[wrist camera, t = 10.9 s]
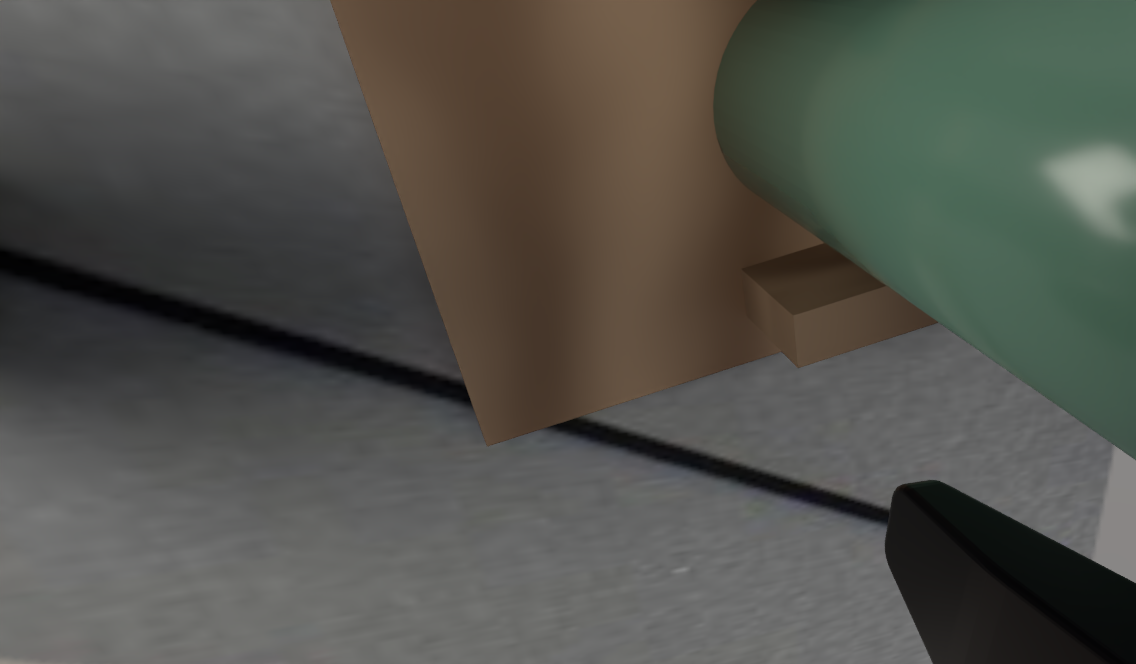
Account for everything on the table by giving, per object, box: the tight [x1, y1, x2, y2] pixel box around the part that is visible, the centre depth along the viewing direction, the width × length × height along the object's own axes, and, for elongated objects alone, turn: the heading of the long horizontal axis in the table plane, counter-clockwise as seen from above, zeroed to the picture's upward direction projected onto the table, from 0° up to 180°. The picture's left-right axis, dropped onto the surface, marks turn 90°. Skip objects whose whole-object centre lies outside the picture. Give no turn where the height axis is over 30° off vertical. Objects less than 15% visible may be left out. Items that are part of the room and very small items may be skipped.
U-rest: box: [330, 0, 938, 446], centre depth 18 cm, size 18×14×4 cm
